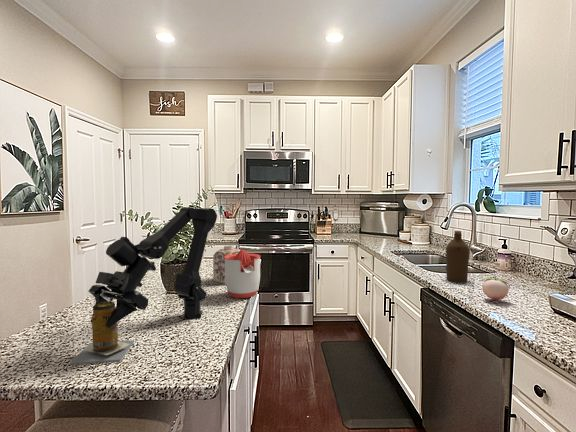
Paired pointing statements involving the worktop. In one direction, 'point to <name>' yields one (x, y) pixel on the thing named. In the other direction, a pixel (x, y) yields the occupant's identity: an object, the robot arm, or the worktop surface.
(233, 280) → the citrus juicer
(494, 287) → the decorative fruit
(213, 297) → the worktop surface
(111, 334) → the condiment
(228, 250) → the decorative jar
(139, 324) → the worktop surface
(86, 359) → the mat
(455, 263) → the olive oil
